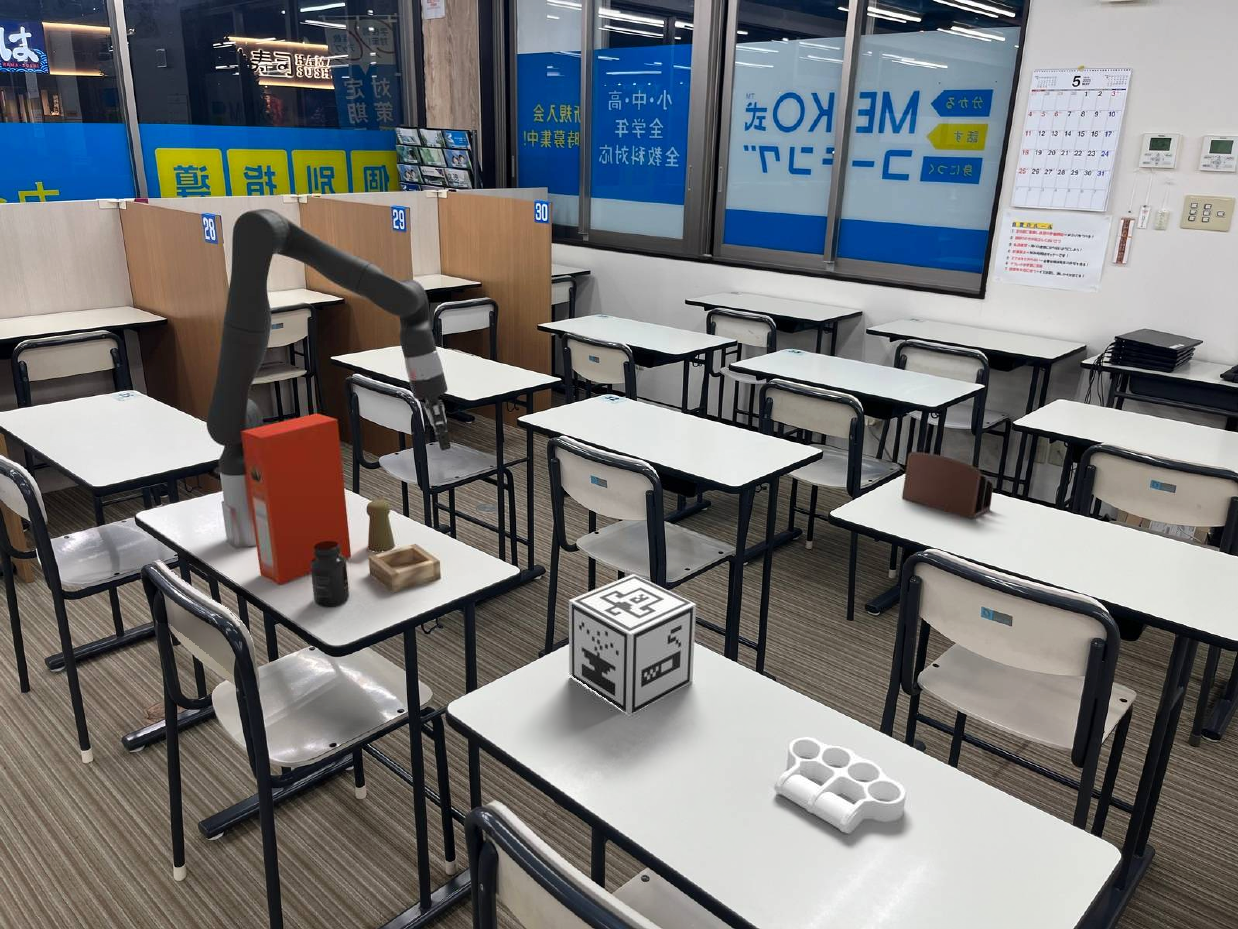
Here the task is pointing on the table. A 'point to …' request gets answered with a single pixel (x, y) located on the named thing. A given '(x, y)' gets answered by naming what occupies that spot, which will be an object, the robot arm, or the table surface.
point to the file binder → (295, 493)
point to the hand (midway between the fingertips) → (443, 444)
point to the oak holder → (404, 567)
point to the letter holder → (946, 485)
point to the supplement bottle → (329, 575)
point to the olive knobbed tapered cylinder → (379, 526)
